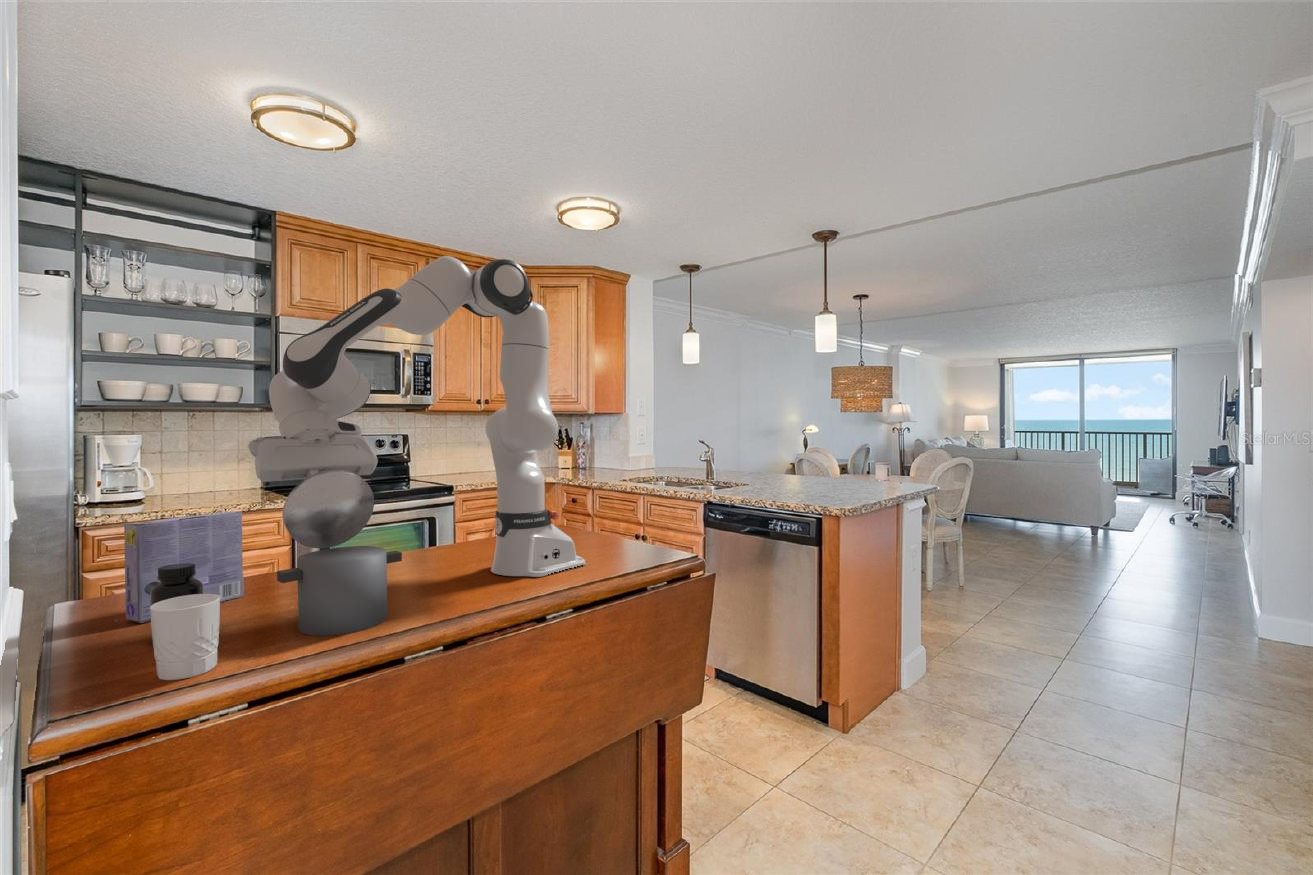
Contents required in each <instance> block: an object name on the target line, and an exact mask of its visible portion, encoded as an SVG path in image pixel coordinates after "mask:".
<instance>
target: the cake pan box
mask: <svg viewBox="0 0 1313 875" xmlns="http://www.w3.org/2000/svg"><path fill="white" fill-rule="evenodd" d="M123 527H124V528H123V529H124V532H123V534H124V583H125V584H124V585H125V587H124V589H125V619H126V620H128V621H132V622H136V623H139V624H143V623H146V622H147V623H148V622H151V616H150V592H151V589H152V588H153V587H154V586H155V585H157V584H158V583H160V580H157V576H158V568H160V567H162V566H167V565H172V564H180V563H193V564H195V572H196V575H195V576H194V578H195V579H198V580H200V581H201V582H202V584H203V594H216V595H219V596H220V603H224V602H226V600H227V601H231V600H235V599H239V598H244V568H243V567H244V566H243V565H244V564H243V563H244V562H243V560H244V559H243V513H242V511H241V510H240V511H239V510H238V511H236V510H235V511H224V512H216V513H215V512H214V513H207V514H200V515H199V514H198V515H197V514H196V515H188V516H187V515H186V516H180V517H179V516H178V517H170V518H163V519H156V520H148V521H147V520H146V521H139V522H138V521H137V522H130V523H124V526H123Z"/></svg>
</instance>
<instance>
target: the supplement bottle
mask: <svg viewBox="0 0 1313 875" xmlns="http://www.w3.org/2000/svg"><path fill="white" fill-rule="evenodd" d="M195 575H196V572H195V564H193V563H180V564H172V565H167V566H162V567H160V568H158V576H157V580H160V583H158V584H157V585H155V586H154V587H153V588H152V589H151V592H150V606H151V605H153V604H155V603H157V602H160V601H163V600H166V599H170V598H175V597H180V596H186V595H194V594H203V584H202V582H201V581H200V580H198V579H195V578H194V576H195ZM150 639H151V640H150V641H151V643H153V639H152V628H151V627H150Z"/></svg>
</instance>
